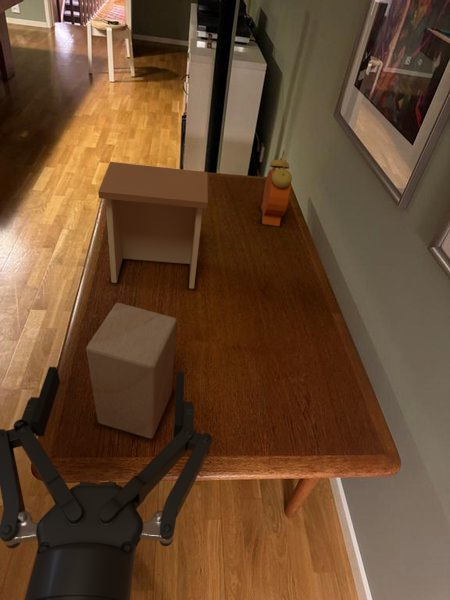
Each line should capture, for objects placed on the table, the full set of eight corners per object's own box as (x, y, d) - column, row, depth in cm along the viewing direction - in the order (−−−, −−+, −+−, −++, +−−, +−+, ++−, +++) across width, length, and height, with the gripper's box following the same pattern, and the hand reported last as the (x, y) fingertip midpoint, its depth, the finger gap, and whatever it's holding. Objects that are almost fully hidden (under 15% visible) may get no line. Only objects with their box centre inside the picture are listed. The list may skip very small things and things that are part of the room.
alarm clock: (281, 229, 122) (298, 166, 108) (261, 226, 121) (276, 163, 108) (278, 207, 131) (293, 147, 118) (259, 204, 131) (273, 144, 117)
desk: (197, 294, 95) (208, 202, 79) (106, 287, 93) (98, 191, 76) (197, 260, 105) (207, 172, 88) (115, 253, 102) (110, 161, 86)
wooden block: (96, 423, 68) (84, 347, 54) (121, 377, 75) (116, 300, 62) (152, 440, 67) (154, 367, 54) (172, 392, 74) (178, 317, 61)
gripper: (-92, 633, 30) (7, 392, 45) (237, 621, 33) (225, 399, 49) (-140, 612, 25) (-10, 349, 40) (253, 600, 28) (234, 360, 44)
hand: (118, 376), depth 45 cm, fingers open, 13 cm apart
